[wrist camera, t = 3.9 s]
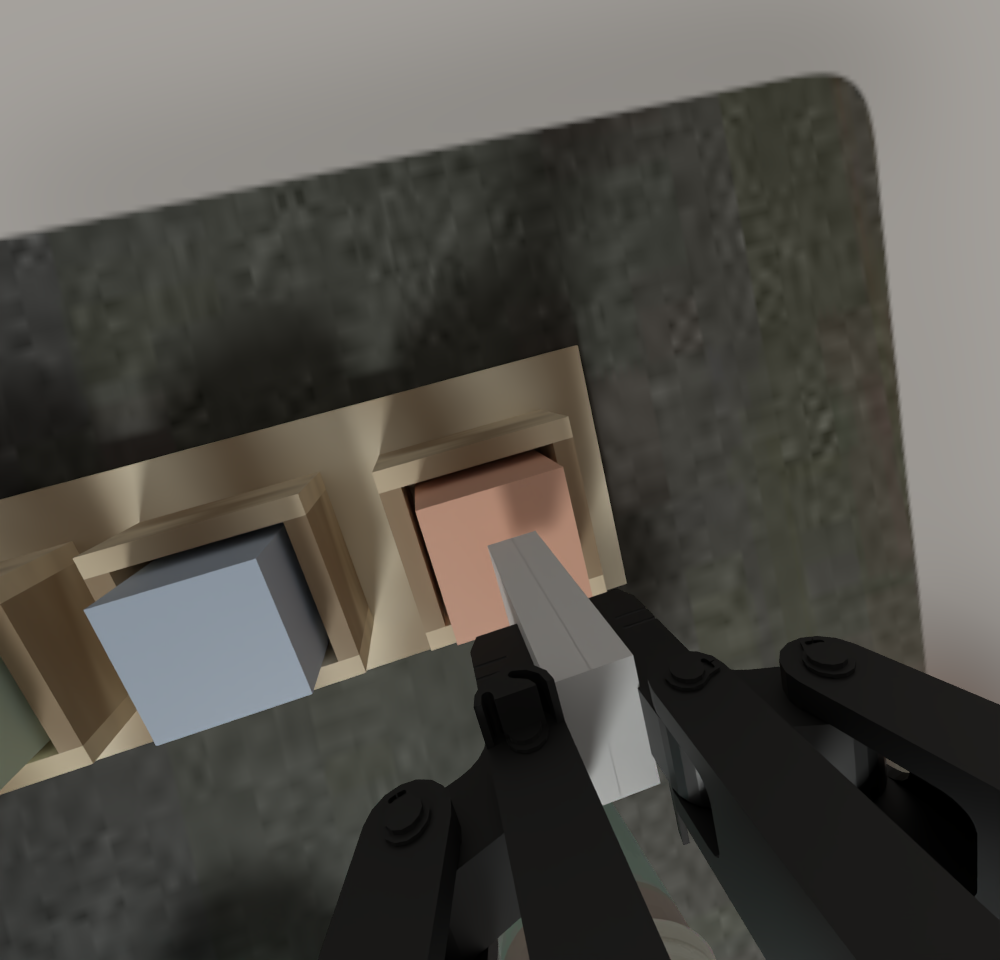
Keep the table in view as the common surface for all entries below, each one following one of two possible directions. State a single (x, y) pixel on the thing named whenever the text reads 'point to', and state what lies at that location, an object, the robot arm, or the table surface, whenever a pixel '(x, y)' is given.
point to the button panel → (309, 523)
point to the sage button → (16, 728)
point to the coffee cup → (680, 941)
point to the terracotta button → (493, 532)
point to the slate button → (213, 633)
